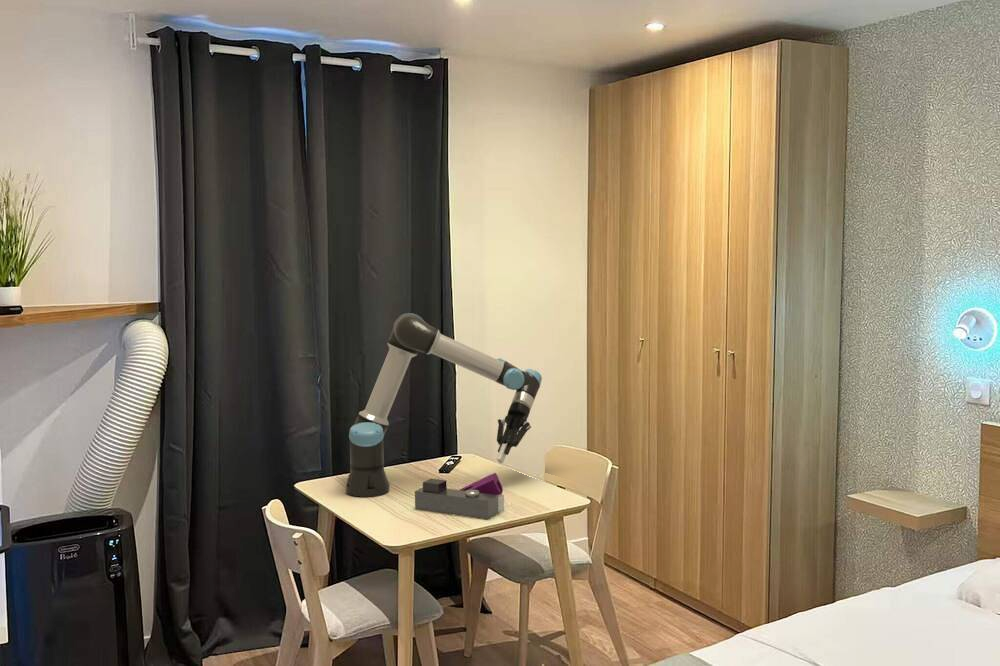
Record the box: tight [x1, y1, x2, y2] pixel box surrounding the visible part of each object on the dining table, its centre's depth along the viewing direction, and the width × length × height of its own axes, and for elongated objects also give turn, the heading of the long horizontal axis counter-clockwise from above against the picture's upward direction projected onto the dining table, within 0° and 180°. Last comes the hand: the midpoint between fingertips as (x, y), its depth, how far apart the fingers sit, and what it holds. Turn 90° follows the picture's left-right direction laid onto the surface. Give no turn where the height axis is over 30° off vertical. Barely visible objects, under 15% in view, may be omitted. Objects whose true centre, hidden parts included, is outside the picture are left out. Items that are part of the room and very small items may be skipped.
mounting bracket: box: [458, 472, 504, 495], centre depth 292 cm, size 9×8×18 cm
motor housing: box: [414, 478, 505, 520], centre depth 285 cm, size 27×11×9 cm, turn 63°
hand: (499, 461), depth 309 cm, fingers closed
